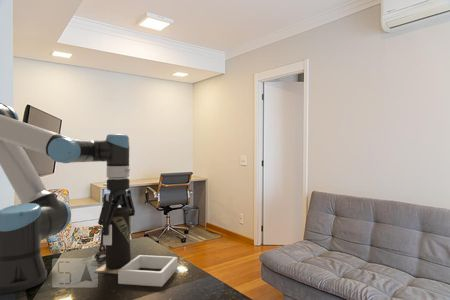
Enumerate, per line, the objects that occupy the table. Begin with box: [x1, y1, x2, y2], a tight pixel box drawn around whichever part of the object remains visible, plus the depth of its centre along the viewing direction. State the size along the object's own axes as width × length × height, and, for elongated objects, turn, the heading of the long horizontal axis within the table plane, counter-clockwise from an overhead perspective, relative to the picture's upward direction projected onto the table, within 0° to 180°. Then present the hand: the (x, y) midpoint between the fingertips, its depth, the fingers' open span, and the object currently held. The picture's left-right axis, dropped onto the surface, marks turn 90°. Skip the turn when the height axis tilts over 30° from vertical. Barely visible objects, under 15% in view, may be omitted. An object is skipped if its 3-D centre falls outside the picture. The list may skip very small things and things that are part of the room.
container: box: [105, 206, 132, 269], centre depth 103 cm, size 9×9×20 cm
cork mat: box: [94, 259, 133, 275], centre depth 103 cm, size 11×11×1 cm
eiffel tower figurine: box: [81, 226, 106, 266], centre depth 113 cm, size 15×10×13 cm
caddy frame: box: [117, 254, 178, 287], centre depth 95 cm, size 14×14×4 cm
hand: (118, 239), depth 103 cm, fingers open, 13 cm apart
